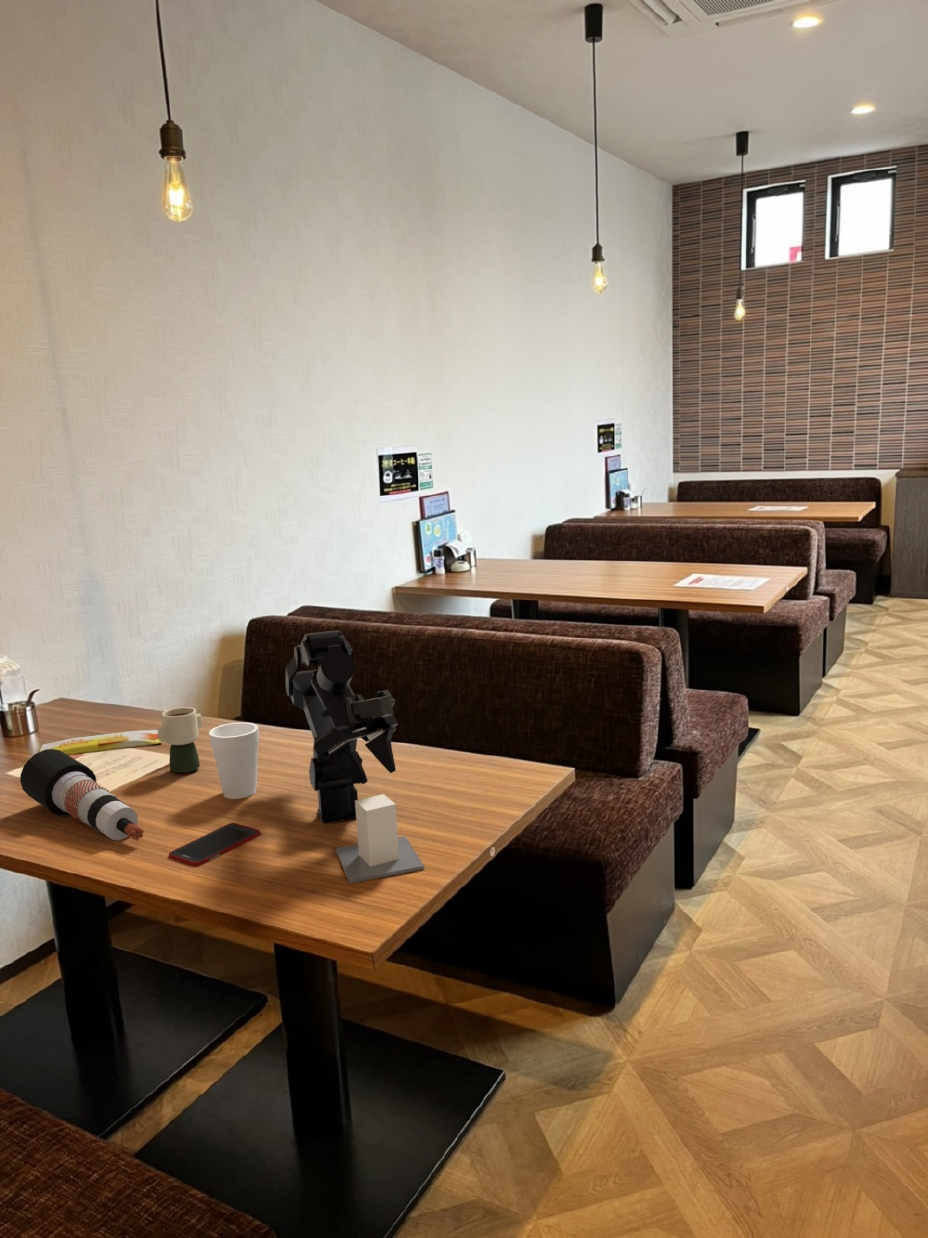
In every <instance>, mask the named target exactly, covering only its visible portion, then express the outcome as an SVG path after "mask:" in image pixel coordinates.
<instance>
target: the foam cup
mask: <svg viewBox="0 0 928 1238" xmlns="http://www.w3.org/2000/svg"><path fill="white" fill-rule="evenodd" d="M208 737H209V744H210V747H211V750H212V752H213V757H214V760H215V766H216V769H217V773H218V774H217V775H218V778H219V781H220V786H221V790H222V794H223V797H224V798H226V799H230V800H233V799H234V800H237V799H238V800H239V799H244V798H248V797H251V796H253V795H255V793H256V792H257V787H258V786H257V781H258V760H259V759H258V756H259V741H260V729H259V726H258V725H257V724H255V723H252V722H230V723H225V724H220V725H218V726H215V727H213V728H211V730H209V732H208Z"/></svg>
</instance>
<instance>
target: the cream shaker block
mask: <svg viewBox="0 0 928 1238" xmlns="http://www.w3.org/2000/svg"><path fill="white" fill-rule="evenodd" d="M355 807H356V831H357V845H358V849H359V856H360V857H361V858H362V859H363V860H364V861H365V862H366V863H367V864H368V865H369V866H370V867H371V866H375V865H379V864H382V863H386V862H390V861H394V860H397V859H399V851H398V824H397V823H398V822H397V821H398V820H397V807H396V802H394V801H393V800H392V799H390V798H389V797H387V796H386V795H385V794H384V793H382V794H378V795H373V796H369V797H365V798H361V799H358V800H356V801H355Z"/></svg>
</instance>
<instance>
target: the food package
mask: <svg viewBox="0 0 928 1238" xmlns="http://www.w3.org/2000/svg"><path fill="white" fill-rule="evenodd" d="M163 742H164V741H162V742H160V740H159V737H158V729H149V730H148V729H147V730H130V731H122V732H114V733H104V734H98V735H91V736H81V737H74V738H68V739H63V740H58V741H53V742H49V743H44V744H42V745H41V746H40V749H39V751H38V752H41V751H43V750H46V749H56V750H60V751H62V752H64V753H65V754H67V755H69V756H73V755H77V754H78V755H79V754H86V753H95V752H103V751H110V750H119V749H127V748H137V747H145V746H151V745H157V744H162V743H163ZM72 754H73V755H72Z"/></svg>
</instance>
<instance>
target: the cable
mask: <svg viewBox="0 0 928 1238" xmlns="http://www.w3.org/2000/svg"><path fill="white" fill-rule="evenodd" d="M19 781H20V784H21V785H20V786H21V788H22V789H21V790H22V791H23V792H24V793H25V794H26V795H27V796H29V798H31V799H33V801H35V802H36V803H38V804H39V805H41V806H42V807H43V808H45V809H47V810H48V811H50V812H51V813H53V814H55V815H57V816H60V817H61V816H62V817H67V816H72V817H73V818H74V819H75V820H78V821H80V823H83V824H86V825H88V826H89V827H91V828H93V829H95V830H96V831H98V832H100V833H101V834H103V835H105V836H106V837H108V838H109V839H110V840H113V841H120V840H123V839H126V838H129V837H130V839H133V840H135V841H137V842H138V841H139V840H140V839H142V838H144V833H145V830H144V829H143V828H141V827H140V826H138V822H139V817H138V813H137V812H136V810H134V809H133V808H131V807H130V806H128V805H127V804H125V802H124V801H122V800H121V799H119V798H118V797H117V796H116V795H114V794H112V793H111V792H110V790H108V789H107V788H106V787H103V786H102V785H101V784H99V783H97V777H96V775H95V773H94V771H93V770H92V769H91V768H90V767H88V766H87V765H86V764H83V763H82V762H80V761H79V760H77V759H75V758H73V757H72V756H71V755H67V754H65V753H64V752H62V751H60V750H56V749H46V750H43V751H41V752H39V751H38V752H37V753H34V754H33V755H32V756H31V757H30V758H28V760H27V761H26V762H25V764H24V765H23V767H22V769H21V773H20V779H19Z"/></svg>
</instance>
